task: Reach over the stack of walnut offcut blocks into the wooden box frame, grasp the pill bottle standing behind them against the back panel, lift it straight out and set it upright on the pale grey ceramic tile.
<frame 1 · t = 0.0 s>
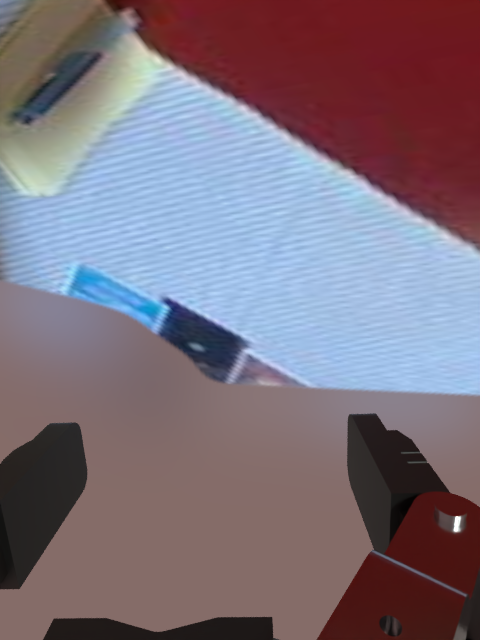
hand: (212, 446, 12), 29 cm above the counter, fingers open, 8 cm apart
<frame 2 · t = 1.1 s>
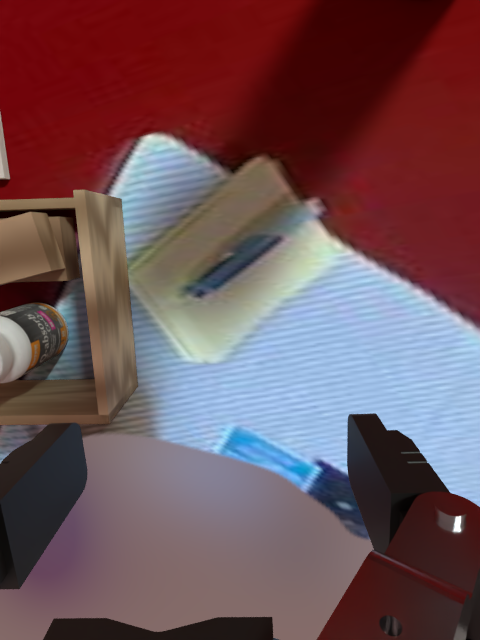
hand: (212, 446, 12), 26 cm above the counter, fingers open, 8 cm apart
offcut block upper: (15, 252, 35), point 3 cm above the counter
pill bottle: (43, 329, 39), on the counter
wooden box frame: (37, 299, 38), on the counter
offcut block lower: (31, 249, 37), on the counter
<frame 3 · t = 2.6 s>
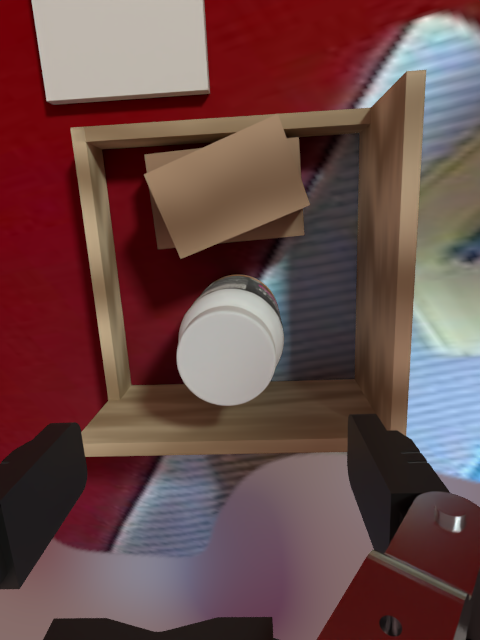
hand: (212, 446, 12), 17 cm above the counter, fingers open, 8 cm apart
offcut block upper: (230, 193, 23), point 3 cm above the counter, touching offcut block lower
pill bottle: (237, 312, 28), on the counter
wooden box frame: (235, 270, 27), on the counter
offcut block lower: (229, 198, 26), on the counter, touching offcut block upper
tile: (120, 7, 24), on the counter
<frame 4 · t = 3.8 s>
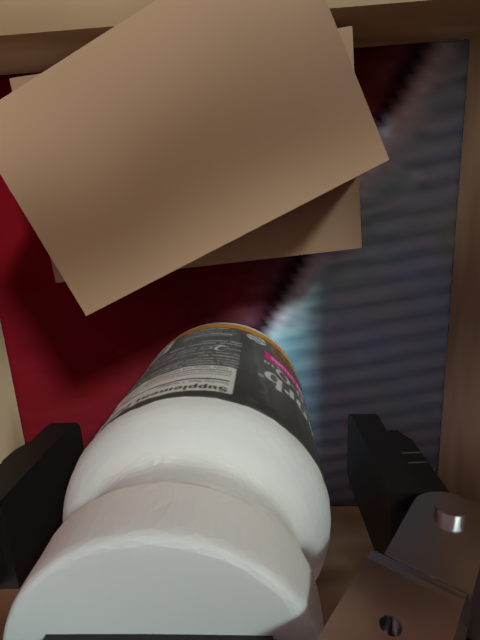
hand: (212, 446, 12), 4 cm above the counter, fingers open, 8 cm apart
offcut block upper: (194, 158, 11), point 3 cm above the counter, touching offcut block lower
pill bottle: (224, 387, 15), on the counter
wooden box frame: (218, 313, 14), on the counter
offcut block lower: (205, 177, 14), on the counter, touching offcut block upper
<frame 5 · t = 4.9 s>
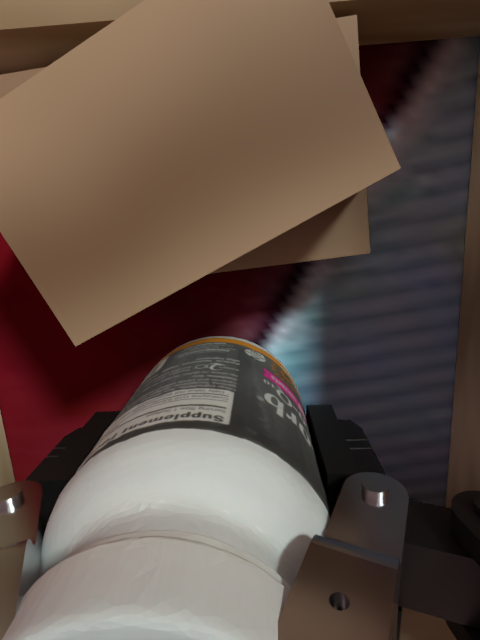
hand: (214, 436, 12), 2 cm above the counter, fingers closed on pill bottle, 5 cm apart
offcut block upper: (188, 171, 10), point 3 cm above the counter, touching offcut block lower
pill bottle: (221, 404, 14), on the counter, touching gripper
wooden box frame: (215, 326, 14), on the counter
offcut block lower: (201, 180, 13), on the counter, touching offcut block upper
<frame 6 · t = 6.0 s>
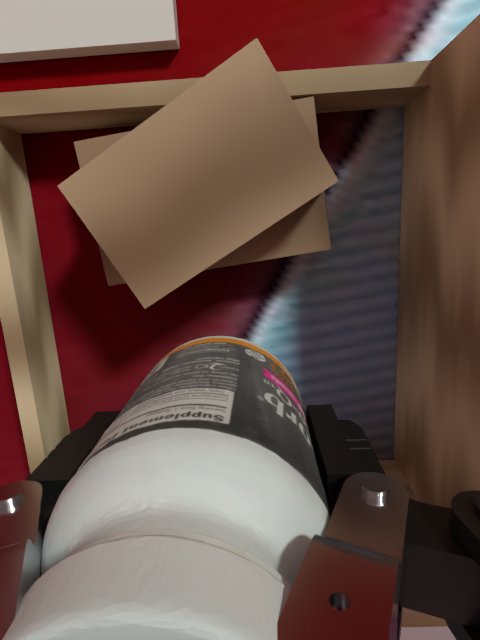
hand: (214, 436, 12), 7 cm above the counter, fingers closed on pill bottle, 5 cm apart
offcut block upper: (205, 191, 15), point 3 cm above the counter
pill bottle: (221, 404, 15), point 5 cm above the counter, touching gripper
wooden box frame: (221, 309, 19), on the counter
offcut block lower: (212, 202, 18), on the counter
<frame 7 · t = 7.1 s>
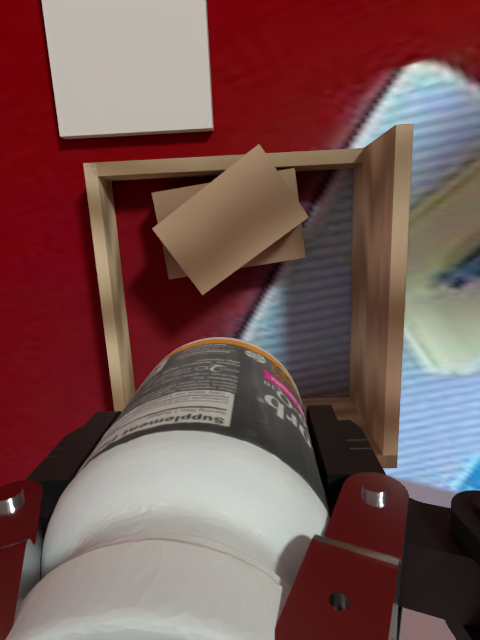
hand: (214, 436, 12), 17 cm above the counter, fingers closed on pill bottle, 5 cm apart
offcut block upper: (231, 223, 25), point 3 cm above the counter, touching offcut block lower
pill bottle: (221, 405, 15), point 15 cm above the counter, touching gripper
wooden box frame: (236, 294, 29), on the counter
offcut block lower: (231, 225, 28), on the counter, touching offcut block upper
tile: (131, 50, 25), on the counter
when the fingers open (4 cm above the counter, at t = 11.5 s): pill bottle drops 1 cm, resting on tile.
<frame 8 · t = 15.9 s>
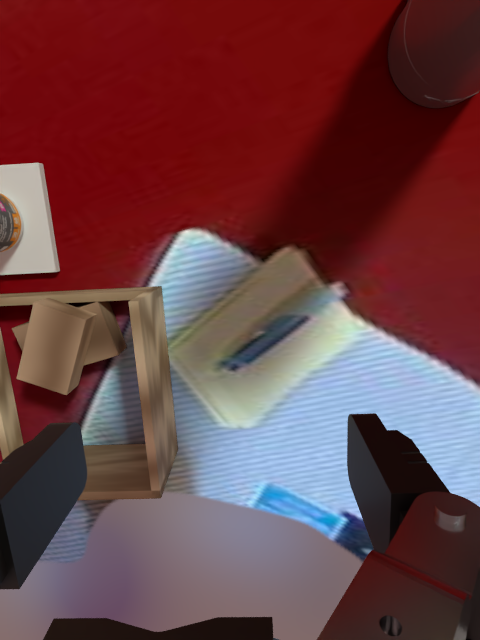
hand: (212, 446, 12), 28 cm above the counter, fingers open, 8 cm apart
offcut block upper: (63, 342, 38), point 3 cm above the counter
wooden box frame: (85, 375, 42), on the counter
offcut block lower: (78, 333, 41), on the counter
tile: (1, 222, 38), on the counter
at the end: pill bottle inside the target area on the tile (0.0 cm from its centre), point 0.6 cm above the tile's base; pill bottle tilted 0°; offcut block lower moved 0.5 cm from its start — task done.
